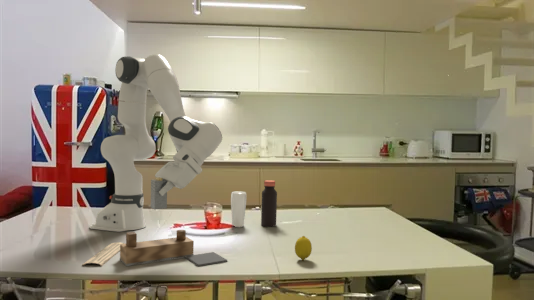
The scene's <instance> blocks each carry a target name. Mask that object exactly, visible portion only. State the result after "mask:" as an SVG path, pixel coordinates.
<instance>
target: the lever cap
mask: <svg viewBox="0 0 534 300" xmlns="http://www.w3.org/2000/svg"><path fill="white" fill-rule="evenodd" d="M166 183H167V181H166V180H163V179H162V178H160V177H155V179H151V180H150V208H151V209H153V210H163V209H168V208H167V207H168V192H166V193H165V194H164V195H163V196H162V195H160V194H159V193H158V191H159V190H160V189H161V188H163V187H164V186H165V185H166Z"/></svg>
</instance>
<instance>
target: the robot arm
mask: <svg viewBox="0 0 534 300" xmlns="http://www.w3.org/2000/svg"><path fill="white" fill-rule="evenodd" d="M114 72H115V76H116V78H117V80H118V81H119V82H121V83H120V84H121V85H120V90H119V94H118V107H117V120H118V123H120V124H121V125H122V126H123V128H124V130H125V134H115V135H111V136H107V137H105V138H103V140H102V142H101V145H100V153H101V156H102V158H103V159H105V160H106V161H107V163H109V165H110V167H111V169H112V171H113V174H114V193H113V194H112V195H110V196H108V198H109V200H110V202H109V203H108V204H107V205H106V206H104V207H103V208H102V209H101V210H99V211H98V213H97V214H96V217H95V218H96V219H95V222H92V223H91V224H90V225H89V229H91V230H101V231H108V232H109V231H110V232H118V233H119V232H120V233H121V232H126V231H127V232H128V231H133V230H134V231H135V230H141V229H143V228H145V227H146V226H147V224H146V220H145V216H144V203H145V202H144V201H145V200H144V193H143V178H144V177H143V175H142V173H141V172H140V171H138V170H137V168H136V166H135V163H134V162H136V161H144V160H146V159H149V158H152V157H153V156H154V155H155V153H156V143H155V140H154V139H153V138H152V137H151V136H150V133H149V131H148V128H147V122H146V119H147V118H146V117H147V116H146V114H147V93H148V90H149V92H150V93H151V95H152V96H153V98H154V99H155V100H156V102H157V103H158V105H159V106H160V107H161V109H162V110H163V112H164V114H165V115H166V116H167V118H168V120H169V125H168V126H167V132H168V135H169V138H170V139H171V141H172V143H173V146H174V147H175V150H176V153H175V154H174V155H173V156H172V159H173V161H172V160H171V161H168V162H167V163H165V164H164V165H163V166H162V167H161V168H160V169H159V170H157V172H156V173H155V175H154V177H155V178H156V177H160V178H162V179H163V180H166V181H167V183H166V185H165V186H164V187H163V188H161V189H160V190H159V191H158V193H159V194H160V195H162V196H163V195H164V194H165V193H166V192H167V193H168V192H169V191H171V190H172V189H174V188H177V189H180V190H182V189H184V188H186V187H187V186H188V185H189V184H190V183H191V182H192V181H193V180H194V179H195V178H196V177H197V176H198V175H200V174H201V173H202V172H203V168H202V165H203V164H204V162H205V160H206V159H207V158H209V157H210V156H212V155H213V154H214V152H215V151H216V150H217V148H218V147H219V146H220V145H221V144H222V140H223V133H222V132H221V130H220V128H219V127H218V126H217V125H216V124H215V123H213V122H211V121H207V122H206V121H205V122H204V121H198V120H195V119H192V118H191V117H189V116H187V115H186V112H185V109H184V106H183V101H182V96H181V95H182V94H181V90H180V85H179V84H180V83H179V82H178V78H177V76H176V72H175V71H174V69H173V67H172V66H171V64H170V63H169V61H168V60H167V59H166V57H164V55H161V54H157V53H156V54H151V55H148V56H147V57H144V58H143V57H133V56H122V57H120V58H119V59H118V60H117V62H116V64H115V71H114Z"/></svg>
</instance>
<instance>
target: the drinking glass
mask: <svg viewBox="0 0 534 300" xmlns="http://www.w3.org/2000/svg"><path fill="white" fill-rule="evenodd" d="M246 206H247V192H246V191H241V190H239V191H232V192H231V193H230V209H231V225H234V226H235V227H234V228H242V227H245V219H246V218H245V217H246V209H247V208H246Z"/></svg>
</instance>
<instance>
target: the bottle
mask: <svg viewBox="0 0 534 300" xmlns="http://www.w3.org/2000/svg"><path fill="white" fill-rule="evenodd" d="M263 182H264V183H263V186H264V189H263V190H262V192H261V210H260V211H261V212H260V213H261V214H260V215H261V217H260V220H261V221H260V225H261V226H263V227H266V228H268V227H269V228H272V227H276V226H277V209H278V206H277V205H278V202H277V201H278V192H277V191H276V189H275V187H276V180H270V179H269V180H264V181H263Z"/></svg>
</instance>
